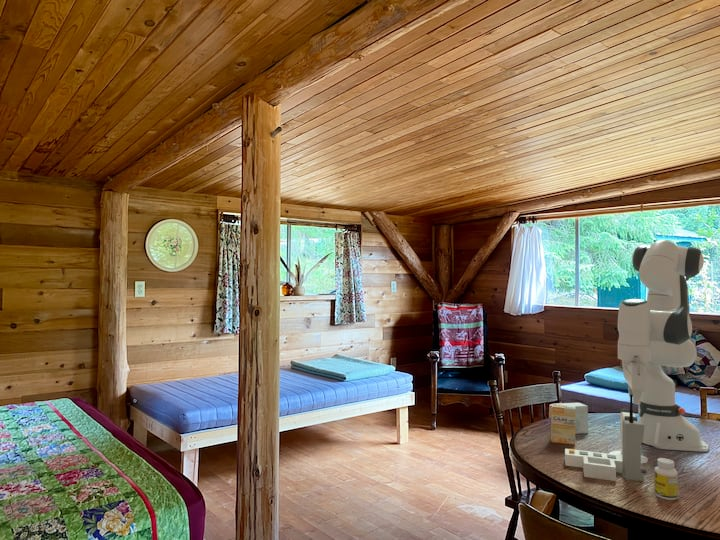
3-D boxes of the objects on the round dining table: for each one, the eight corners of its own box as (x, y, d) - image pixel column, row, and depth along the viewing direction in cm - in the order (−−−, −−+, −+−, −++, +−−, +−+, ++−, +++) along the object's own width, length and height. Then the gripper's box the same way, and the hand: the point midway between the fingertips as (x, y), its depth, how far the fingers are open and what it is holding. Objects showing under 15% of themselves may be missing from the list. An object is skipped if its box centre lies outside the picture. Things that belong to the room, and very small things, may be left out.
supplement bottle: (650, 492, 142) (650, 457, 142) (668, 491, 142) (668, 456, 142) (663, 501, 136) (663, 464, 136) (682, 500, 137) (682, 463, 137)
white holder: (651, 466, 161) (651, 419, 161) (611, 462, 165) (611, 415, 165) (644, 454, 172) (644, 409, 172) (607, 450, 176) (607, 406, 176)
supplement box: (550, 442, 184) (550, 406, 184) (551, 438, 188) (551, 403, 188) (575, 445, 180) (575, 408, 181) (575, 441, 185) (575, 405, 185)
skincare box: (579, 428, 201) (579, 401, 201) (588, 433, 195) (588, 406, 195) (554, 429, 200) (554, 402, 200) (563, 434, 193) (563, 406, 193)
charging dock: (644, 469, 159) (644, 455, 159) (651, 486, 146) (651, 471, 146) (565, 459, 167) (565, 446, 167) (565, 474, 154) (565, 460, 154)
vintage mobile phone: (644, 481, 149) (644, 396, 149) (625, 480, 150) (626, 395, 150) (640, 476, 153) (640, 393, 153) (622, 475, 154) (622, 392, 154)
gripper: (652, 360, 141) (652, 410, 140) (641, 349, 160) (641, 393, 159) (626, 358, 143) (626, 407, 143) (618, 348, 162) (618, 392, 162)
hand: (634, 400), depth 151 cm, fingers open, 8 cm apart
